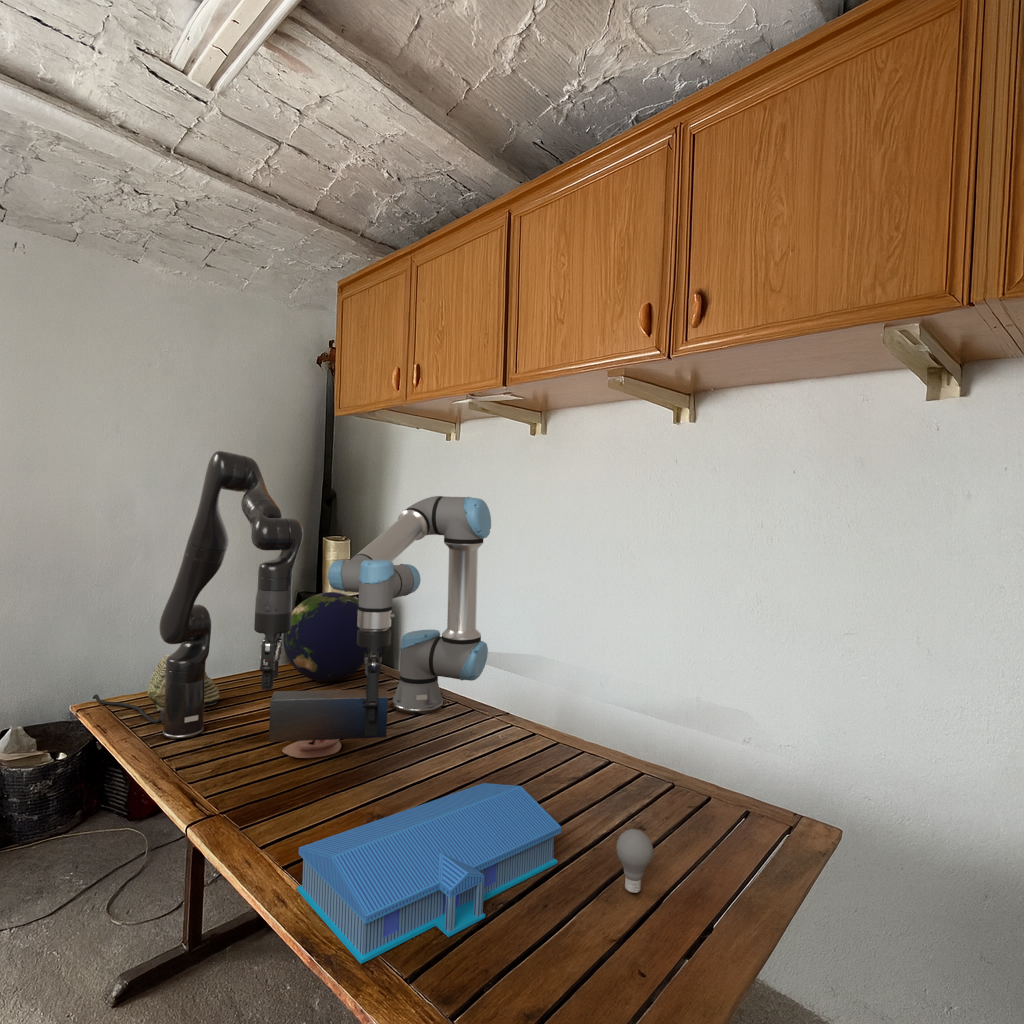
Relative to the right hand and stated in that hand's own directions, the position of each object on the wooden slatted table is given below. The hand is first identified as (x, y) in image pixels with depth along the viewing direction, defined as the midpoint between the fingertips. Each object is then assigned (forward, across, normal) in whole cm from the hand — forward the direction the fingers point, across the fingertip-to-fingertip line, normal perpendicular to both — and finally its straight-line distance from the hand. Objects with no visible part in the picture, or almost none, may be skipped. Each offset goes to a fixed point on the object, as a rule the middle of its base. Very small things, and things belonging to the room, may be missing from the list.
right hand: (370, 729), depth 144 cm
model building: (+11, -41, -11) cm, 44 cm away
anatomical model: (+11, +17, +14) cm, 25 cm away
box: (+1, 0, +9) cm, 9 cm away
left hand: (-11, 0, +22) cm, 25 cm away
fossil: (+11, +54, +53) cm, 76 cm away
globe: (+11, +78, +13) cm, 80 cm away
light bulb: (+11, -49, -43) cm, 66 cm away
